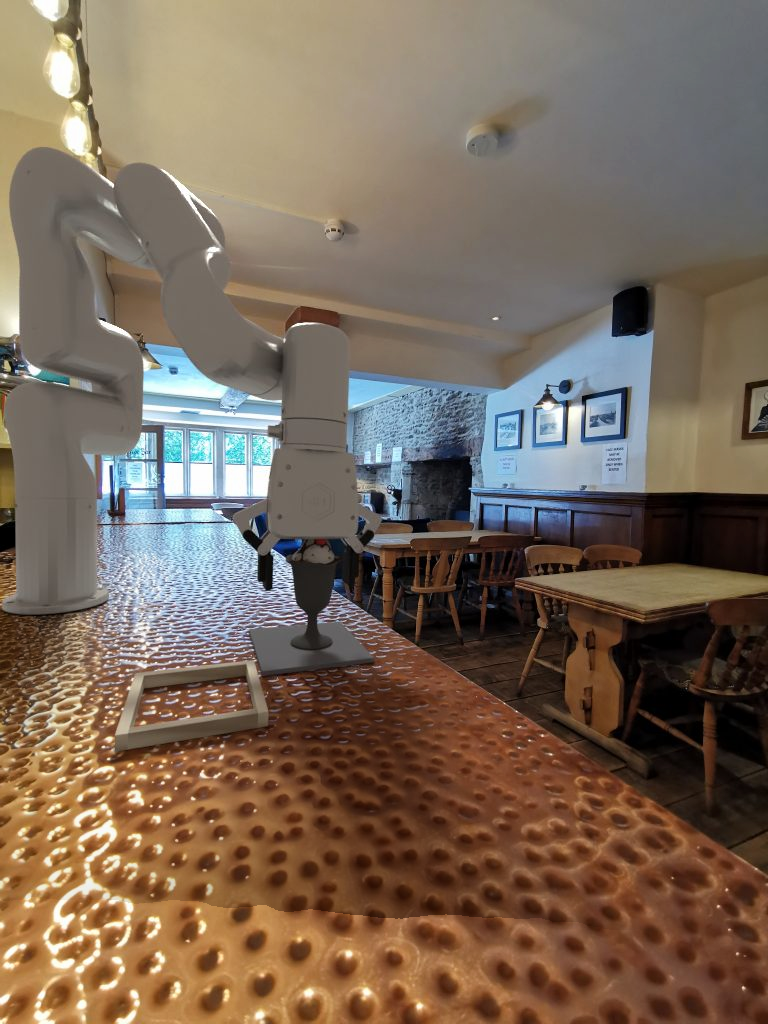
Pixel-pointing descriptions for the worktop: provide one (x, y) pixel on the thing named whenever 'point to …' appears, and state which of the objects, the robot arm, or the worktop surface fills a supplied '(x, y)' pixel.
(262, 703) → the frame
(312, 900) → the worktop surface
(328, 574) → the sundae
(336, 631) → the bar mat
